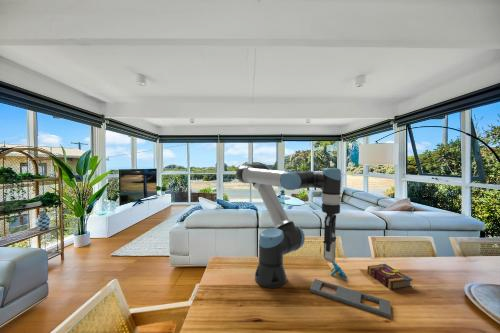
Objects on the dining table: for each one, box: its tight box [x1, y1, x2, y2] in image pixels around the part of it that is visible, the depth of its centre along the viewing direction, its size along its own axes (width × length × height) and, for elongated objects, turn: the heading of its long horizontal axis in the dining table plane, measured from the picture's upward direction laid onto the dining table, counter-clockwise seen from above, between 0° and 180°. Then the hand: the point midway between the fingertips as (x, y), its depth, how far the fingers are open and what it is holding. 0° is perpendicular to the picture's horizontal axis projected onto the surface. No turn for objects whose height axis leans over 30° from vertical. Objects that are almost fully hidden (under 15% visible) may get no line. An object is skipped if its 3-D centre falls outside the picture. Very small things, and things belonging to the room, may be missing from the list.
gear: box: [330, 261, 348, 279], centre depth 108 cm, size 11×6×10 cm
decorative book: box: [366, 263, 413, 291], centre depth 105 cm, size 11×16×5 cm
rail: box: [309, 278, 392, 319], centre depth 90 cm, size 30×9×2 cm, turn 59°
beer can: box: [323, 232, 337, 263], centre depth 94 cm, size 5×5×12 cm
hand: (329, 255), depth 94 cm, fingers closed on beer can, 5 cm apart
